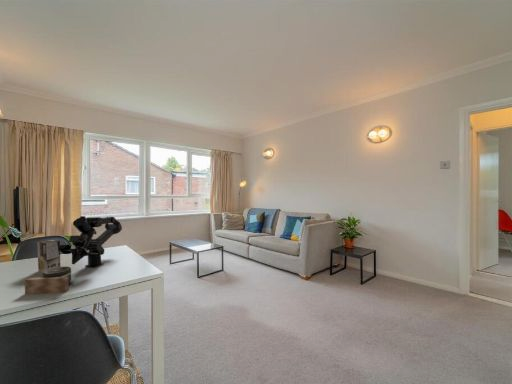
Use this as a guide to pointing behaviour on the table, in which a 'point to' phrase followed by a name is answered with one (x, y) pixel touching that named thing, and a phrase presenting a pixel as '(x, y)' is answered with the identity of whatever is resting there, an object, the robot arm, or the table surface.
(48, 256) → the coffee box
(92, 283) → the table surface
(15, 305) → the table surface
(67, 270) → the jar
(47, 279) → the walnut board
